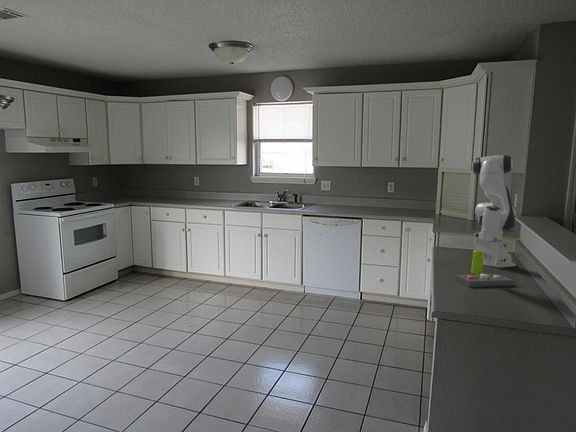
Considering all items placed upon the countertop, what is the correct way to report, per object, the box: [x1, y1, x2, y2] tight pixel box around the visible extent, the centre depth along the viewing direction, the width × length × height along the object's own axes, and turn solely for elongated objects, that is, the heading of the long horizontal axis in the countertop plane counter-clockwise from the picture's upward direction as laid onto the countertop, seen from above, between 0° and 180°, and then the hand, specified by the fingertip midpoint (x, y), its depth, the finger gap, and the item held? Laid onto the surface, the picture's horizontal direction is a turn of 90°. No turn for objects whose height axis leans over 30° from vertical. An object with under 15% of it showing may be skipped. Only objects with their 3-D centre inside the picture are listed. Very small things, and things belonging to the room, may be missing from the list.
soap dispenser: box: [470, 250, 484, 274], centre depth 241 cm, size 6×7×20 cm
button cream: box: [480, 273, 489, 279], centre depth 223 cm, size 4×4×3 cm
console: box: [455, 273, 514, 288], centre depth 223 cm, size 26×12×3 cm, turn 101°
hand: (486, 261), depth 221 cm, fingers closed
